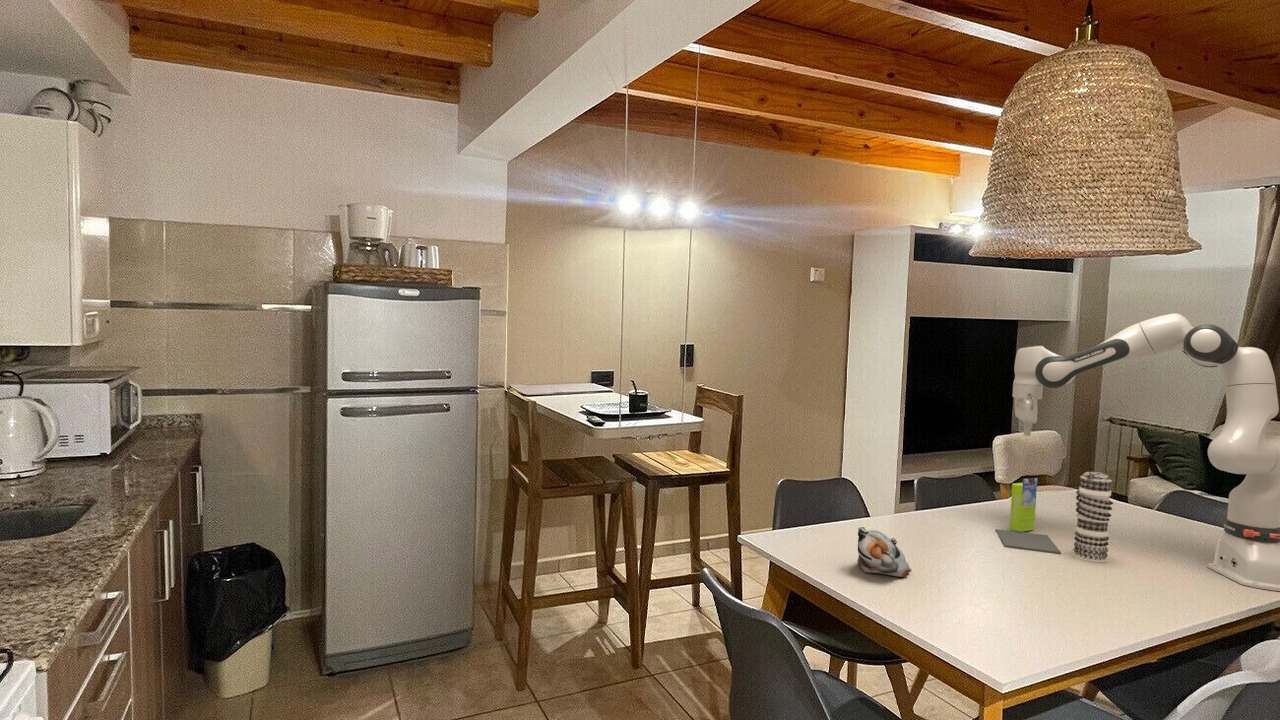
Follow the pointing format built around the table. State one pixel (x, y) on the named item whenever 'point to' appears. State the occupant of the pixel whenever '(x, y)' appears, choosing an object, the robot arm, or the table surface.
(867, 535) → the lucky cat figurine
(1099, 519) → the decorative candle
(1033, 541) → the mat
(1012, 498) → the box
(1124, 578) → the table surface
